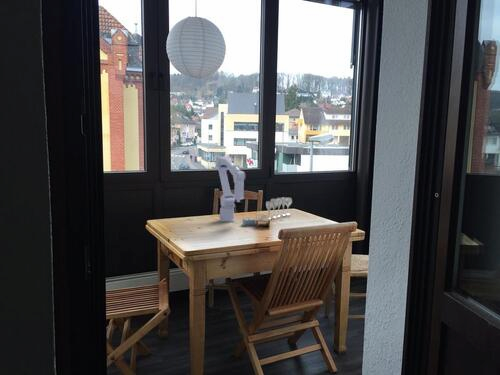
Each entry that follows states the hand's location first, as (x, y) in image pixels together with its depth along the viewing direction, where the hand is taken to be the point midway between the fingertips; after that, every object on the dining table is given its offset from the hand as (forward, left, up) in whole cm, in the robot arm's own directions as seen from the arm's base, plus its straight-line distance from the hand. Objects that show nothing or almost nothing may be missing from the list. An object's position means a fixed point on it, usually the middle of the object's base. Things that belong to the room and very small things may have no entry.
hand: (238, 211), depth 268 cm
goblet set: (+28, +33, -9) cm, 44 cm away
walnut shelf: (+16, 0, -9) cm, 18 cm away
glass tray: (+7, 0, -9) cm, 11 cm away
